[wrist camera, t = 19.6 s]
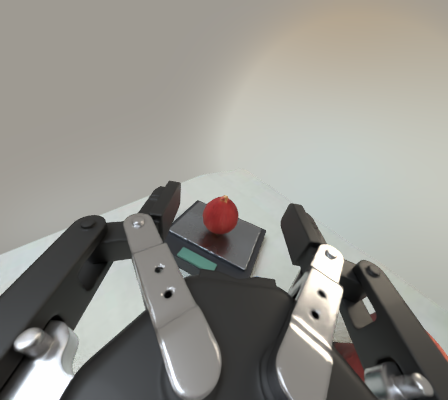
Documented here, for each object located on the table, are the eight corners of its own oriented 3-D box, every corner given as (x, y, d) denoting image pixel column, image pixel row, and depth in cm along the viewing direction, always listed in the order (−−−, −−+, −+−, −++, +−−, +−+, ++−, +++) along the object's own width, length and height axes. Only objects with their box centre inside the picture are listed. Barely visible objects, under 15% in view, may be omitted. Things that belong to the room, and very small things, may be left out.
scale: (151, 251, 28) (149, 239, 26) (196, 208, 39) (198, 197, 37) (239, 302, 24) (245, 291, 22) (262, 238, 35) (267, 227, 33)
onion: (200, 219, 31) (204, 183, 27) (229, 220, 33) (239, 185, 28) (201, 245, 27) (207, 206, 22) (236, 244, 28) (248, 208, 24)
